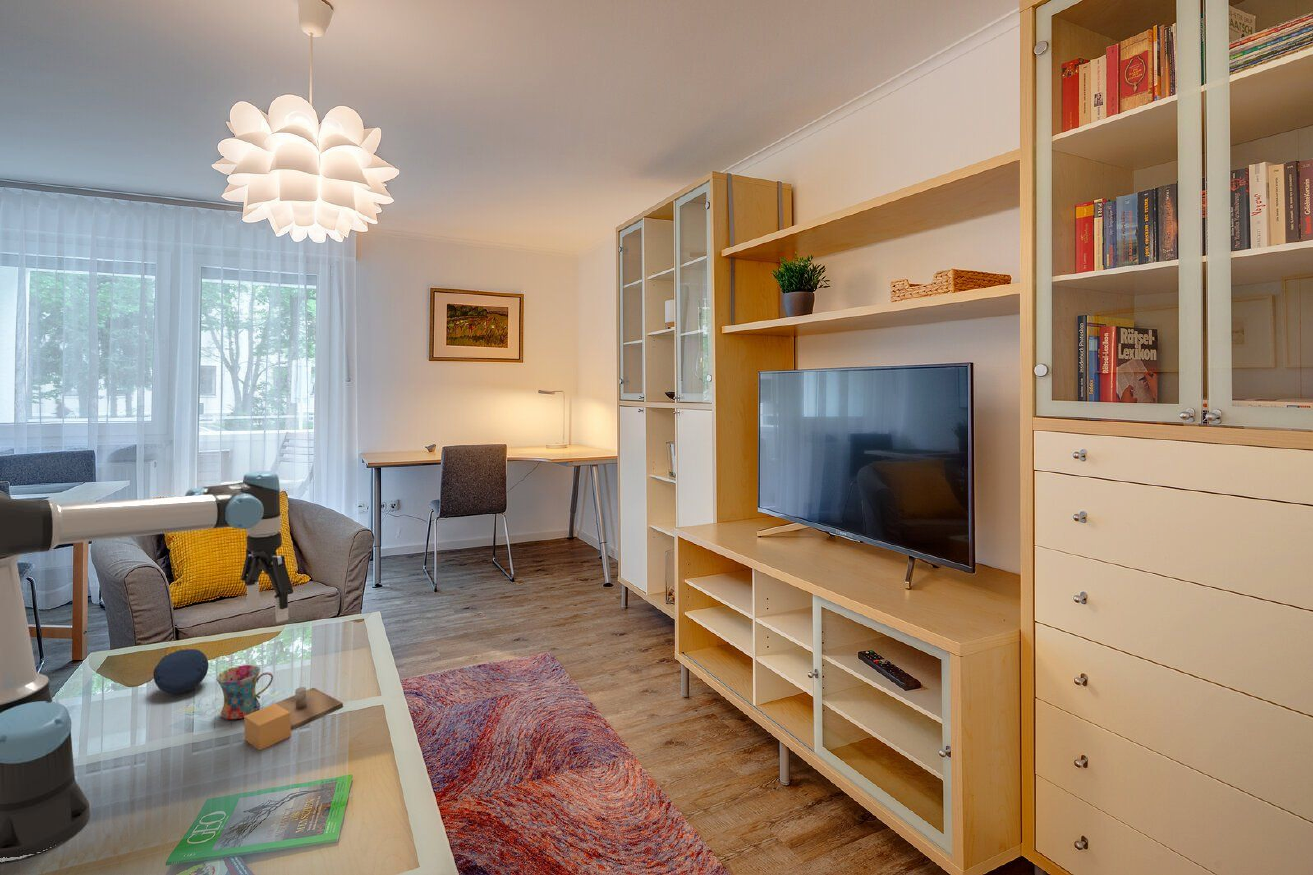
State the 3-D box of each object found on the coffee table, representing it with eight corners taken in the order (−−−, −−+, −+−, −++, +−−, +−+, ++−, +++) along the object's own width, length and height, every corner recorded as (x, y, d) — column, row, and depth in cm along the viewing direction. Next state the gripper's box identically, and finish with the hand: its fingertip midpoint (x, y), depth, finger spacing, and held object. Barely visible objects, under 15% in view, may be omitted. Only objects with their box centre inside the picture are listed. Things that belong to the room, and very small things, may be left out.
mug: (217, 726, 156) (215, 685, 155) (219, 709, 164) (217, 669, 163) (274, 713, 163) (272, 673, 161) (274, 697, 170) (272, 659, 169)
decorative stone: (153, 689, 174) (150, 654, 172) (206, 675, 181) (204, 642, 180) (156, 706, 165) (154, 669, 164) (212, 691, 173) (210, 656, 172)
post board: (287, 731, 155) (286, 709, 154) (259, 713, 162) (258, 692, 162) (342, 706, 167) (342, 686, 166) (313, 690, 174) (312, 671, 174)
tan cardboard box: (260, 750, 147) (258, 725, 147) (245, 739, 151) (244, 716, 150) (291, 735, 153) (290, 712, 152) (276, 726, 157) (275, 703, 156)
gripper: (306, 537, 157) (309, 620, 159) (254, 523, 170) (257, 599, 172) (275, 544, 151) (279, 630, 153) (223, 528, 164) (227, 608, 166)
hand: (267, 614), depth 163 cm, fingers open, 13 cm apart
